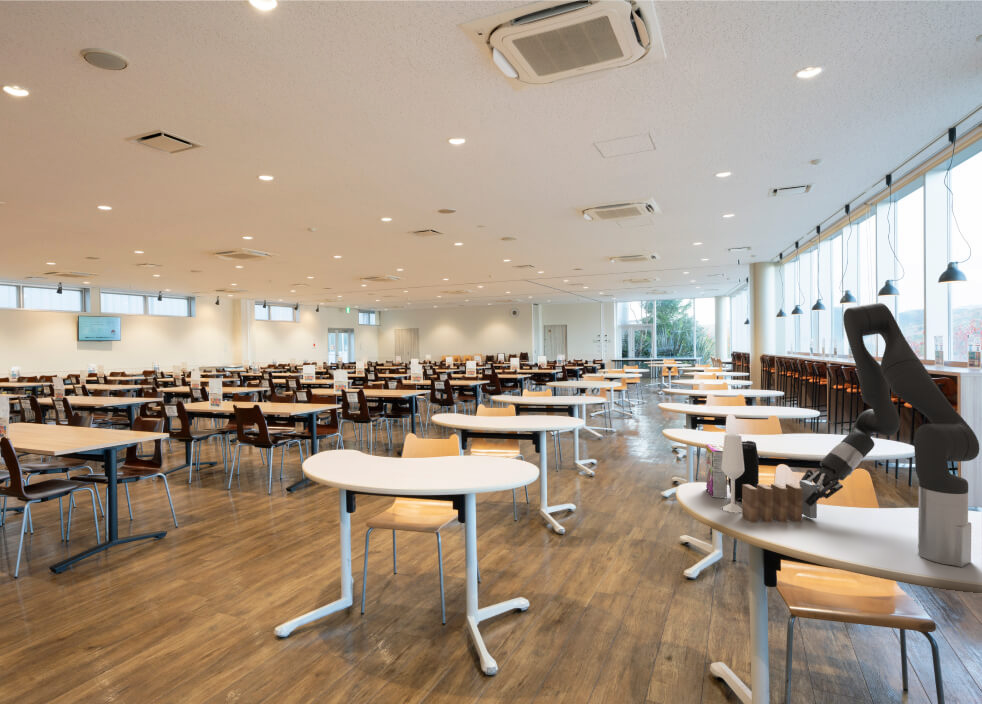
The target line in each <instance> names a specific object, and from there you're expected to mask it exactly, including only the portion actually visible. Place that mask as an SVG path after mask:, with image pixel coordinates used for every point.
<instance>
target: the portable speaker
mask: <svg viewBox="0 0 982 704" xmlns="http://www.w3.org/2000/svg"><path fill="white" fill-rule="evenodd" d="M742 450H743V460H744V472H743V474H742V475H741V476H740V477H738V478H737V479H735V500H738V501H739V500H742V484H749V485H751V486H753V487H755V488H757V484H760V482H759V478H760V477H759V474H760V473H759V472H760V471H759V470H760V469H759V467H760V466H759V463H760V461H759V454H758V448H757V443H756V442H755V441H752V440H746V441H742ZM727 481H728V486H729V487H728V488H729V493H730V494H731V479H730V478H728V477H727Z"/></svg>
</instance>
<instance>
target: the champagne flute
mask: <svg viewBox="0 0 982 704" xmlns="http://www.w3.org/2000/svg"><path fill="white" fill-rule="evenodd" d="M723 439H724V440H723V446H722V448H723V456H722V466H721V469H722V471H723V472H724V474H725V475H726V476H727V479H728V478H730V479H731V493H730V503H728V504H726V505H723V506H722V507H723V509H724V510H726V511H725V512H727V511H729V512H728V513H732V512H735V513H736V514H739V513H738V512H741V513H742V507H740V506H739V505H738V504H736V502H735V479H737V478H738V477H740V476H741V475H742V474H743V472H744V460H743V450H742V434H739V433H725V434H724V438H723ZM724 510H723V511H724Z"/></svg>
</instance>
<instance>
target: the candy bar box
mask: <svg viewBox="0 0 982 704" xmlns="http://www.w3.org/2000/svg"><path fill="white" fill-rule="evenodd" d="M722 456H723V446H722V445H720V444H705V466H706V469H705V473H706V475H705V479H706V480H705V482H706V483H707V484H706V488H707V489H708V490H709V491H708V490H707V489H706V490H707V491H708V493H709V492H710V493H711V494H710V493H709V494H710V495H712V496H713V497H726V498H725V499H728V488H727V487H728V485H727V484H728V482H727V481H728V477H727V476H726V475H725V474H724V472H723V471H722V469H721V466H722ZM712 496H711V497H712ZM713 497H712V498H713Z"/></svg>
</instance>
